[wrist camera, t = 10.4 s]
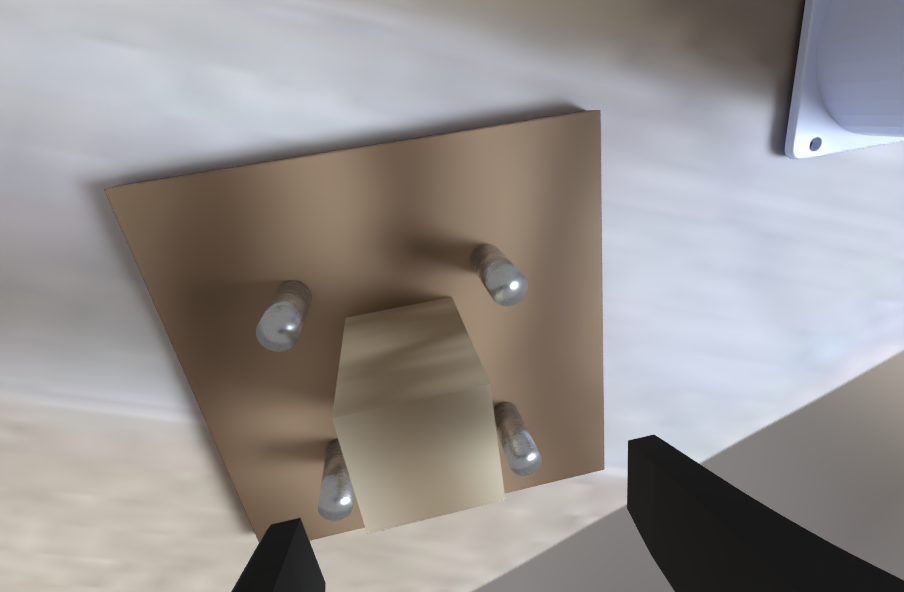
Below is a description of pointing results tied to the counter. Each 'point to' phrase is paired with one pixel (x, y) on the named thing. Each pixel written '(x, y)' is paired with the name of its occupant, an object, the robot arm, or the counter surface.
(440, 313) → the block
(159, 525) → the counter surface
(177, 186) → the peg board
